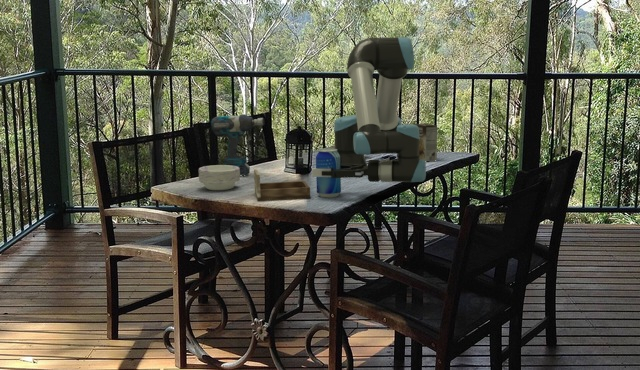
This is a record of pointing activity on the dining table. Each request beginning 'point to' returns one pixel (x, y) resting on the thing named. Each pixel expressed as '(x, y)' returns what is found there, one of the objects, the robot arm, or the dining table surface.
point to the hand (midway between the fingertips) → (315, 170)
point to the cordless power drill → (235, 136)
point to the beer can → (328, 184)
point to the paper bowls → (219, 176)
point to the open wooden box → (280, 189)
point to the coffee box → (427, 142)
